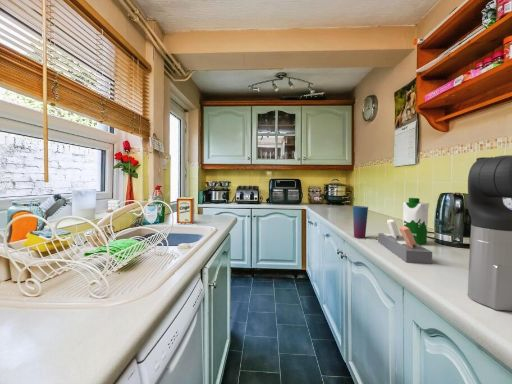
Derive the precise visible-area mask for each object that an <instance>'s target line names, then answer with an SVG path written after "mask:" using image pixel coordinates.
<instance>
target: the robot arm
mask: <svg viewBox="0 0 512 384" xmlns="http://www.w3.org/2000/svg"><path fill="white" fill-rule="evenodd" d="M504 199H512V154H504V155H498V156H497V155H495V156H490V157H488V156H487V157H477V158H476V161H475V162H474V163H473V164H472V165H471V166H470V168H469V172H468V176H467V209H468V210H467V211H468V214H469V216H470V220H471V222H470V238H469V239H470V240H469V261H468V274H467V275H468V277H467V279H468V280H467V296H468V297H469V299H471V300H472V301H474V302H477V303H479V304H480V305H484V306H487V307H489V308H491V309H493V310H498V311H510V312H511V311H512V210H511V209H510V208H509V207H508V206H507V205H505V202H504Z"/></svg>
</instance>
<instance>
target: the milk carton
mask: <svg viewBox="0 0 512 384" xmlns="http://www.w3.org/2000/svg"><path fill="white" fill-rule="evenodd" d="M429 207H430V203H429V202H420V198H417V197H408V201H405V202H402V210H403V212H402V214H403V215H402V226H405V227H408V228H409V229H410V231H411V233H412V235H413V237H414V239H415V242H416V244H418V245H420V246H422V245H424V244H427V240H428V239H427V238H428V226H429V223H428V220H429Z"/></svg>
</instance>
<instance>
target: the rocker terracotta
mask: <svg viewBox="0 0 512 384" xmlns="http://www.w3.org/2000/svg"><path fill="white" fill-rule="evenodd" d="M398 230H399V233H400V235H401V236H403V238H404V240H405V242H406V244H407V245H408V246H409V247H411V248H416V247H417V244H416V242H415V239H414V237H413V235H412V233H411V231H410V229H409V228H408V227H405V226H403V225H402V226H400V227H398Z"/></svg>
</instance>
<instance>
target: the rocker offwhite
mask: <svg viewBox="0 0 512 384" xmlns="http://www.w3.org/2000/svg"><path fill="white" fill-rule="evenodd" d="M386 224H387V226H388V229H389V232H390V234H391V235H392V237H394V238H396V239H397V238H400V235H401V233H400V230H399V227H398V226H397V225H398V224H396V220H393V219H387V220H386Z"/></svg>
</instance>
